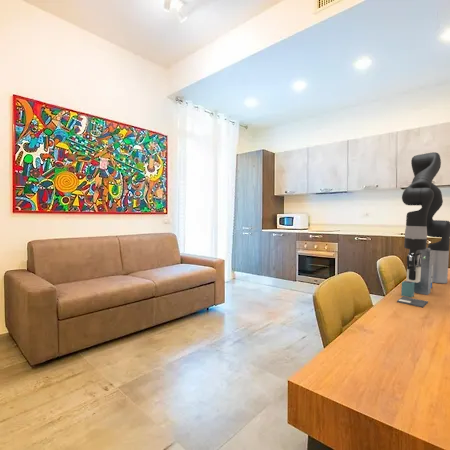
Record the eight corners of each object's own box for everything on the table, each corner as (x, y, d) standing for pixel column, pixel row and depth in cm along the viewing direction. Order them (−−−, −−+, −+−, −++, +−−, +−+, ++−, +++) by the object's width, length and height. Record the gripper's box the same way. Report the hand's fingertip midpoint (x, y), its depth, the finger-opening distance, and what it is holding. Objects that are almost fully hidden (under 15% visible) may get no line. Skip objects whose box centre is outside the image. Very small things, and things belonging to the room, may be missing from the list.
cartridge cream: (409, 279, 120) (409, 264, 120) (420, 281, 118) (421, 265, 117) (406, 280, 118) (407, 265, 117) (417, 282, 115) (418, 266, 114)
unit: (410, 289, 139) (412, 246, 138) (430, 292, 134) (433, 248, 133) (407, 291, 135) (409, 247, 134) (427, 295, 129) (430, 249, 128)
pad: (402, 297, 124) (402, 296, 124) (427, 302, 118) (428, 301, 118) (396, 302, 118) (396, 300, 118) (422, 307, 112) (423, 305, 112)
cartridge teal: (403, 293, 131) (404, 279, 130) (413, 295, 128) (414, 281, 127) (401, 295, 128) (401, 281, 127) (411, 297, 125) (412, 283, 125)
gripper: (409, 235, 124) (407, 275, 125) (400, 237, 114) (398, 280, 115) (430, 237, 119) (428, 278, 120) (422, 238, 109) (420, 283, 110)
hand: (413, 278), depth 117 cm, fingers closed on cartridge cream, 4 cm apart
